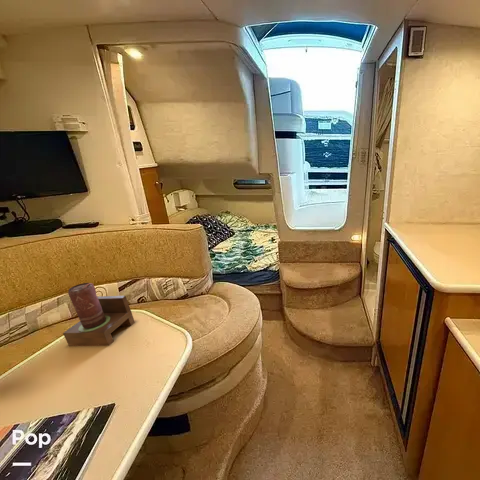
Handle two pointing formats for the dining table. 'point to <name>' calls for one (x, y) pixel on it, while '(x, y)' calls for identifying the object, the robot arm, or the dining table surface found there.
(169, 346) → the dining table surface
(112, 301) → the green-ringed wooden stand
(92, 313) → the can
